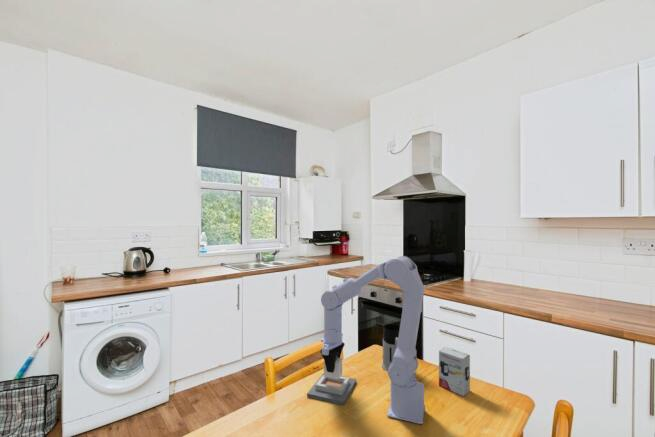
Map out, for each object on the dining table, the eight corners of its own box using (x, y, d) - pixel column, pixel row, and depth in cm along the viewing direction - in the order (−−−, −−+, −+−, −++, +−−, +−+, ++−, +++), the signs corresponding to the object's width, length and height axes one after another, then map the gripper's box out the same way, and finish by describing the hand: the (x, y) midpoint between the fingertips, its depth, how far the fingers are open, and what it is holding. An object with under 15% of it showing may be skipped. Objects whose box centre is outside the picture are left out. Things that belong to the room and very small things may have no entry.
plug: (342, 373, 99) (342, 355, 99) (338, 379, 95) (338, 360, 95) (328, 371, 101) (328, 353, 101) (323, 376, 97) (323, 358, 97)
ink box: (438, 385, 100) (437, 350, 100) (445, 380, 103) (444, 346, 104) (463, 396, 94) (463, 358, 94) (470, 390, 97) (470, 354, 97)
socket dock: (356, 382, 102) (356, 374, 102) (343, 405, 89) (343, 396, 89) (323, 375, 107) (323, 368, 107) (307, 396, 93) (307, 388, 94)
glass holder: (402, 362, 117) (402, 323, 118) (411, 380, 103) (411, 337, 103) (380, 361, 118) (380, 323, 118) (385, 380, 103) (385, 336, 104)
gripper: (329, 318, 107) (329, 357, 106) (312, 332, 93) (312, 376, 93) (348, 321, 104) (348, 360, 104) (334, 335, 90) (334, 381, 90)
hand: (332, 368), depth 98 cm, fingers closed on plug, 4 cm apart
